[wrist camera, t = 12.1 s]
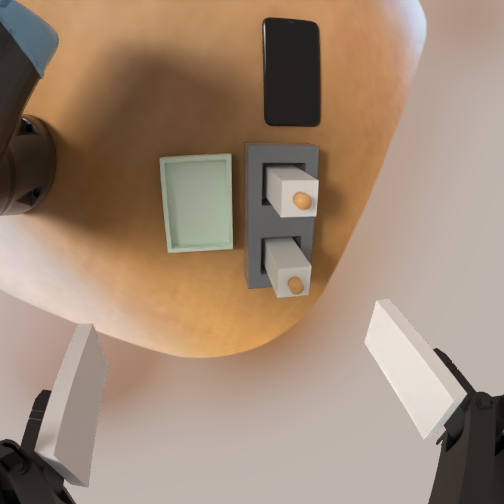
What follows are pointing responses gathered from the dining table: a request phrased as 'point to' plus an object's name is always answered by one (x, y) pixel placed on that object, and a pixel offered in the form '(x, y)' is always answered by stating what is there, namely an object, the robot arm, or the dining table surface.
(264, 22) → the smartphone
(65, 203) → the dining table surface
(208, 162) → the tray
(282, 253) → the plug
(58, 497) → the robot arm
